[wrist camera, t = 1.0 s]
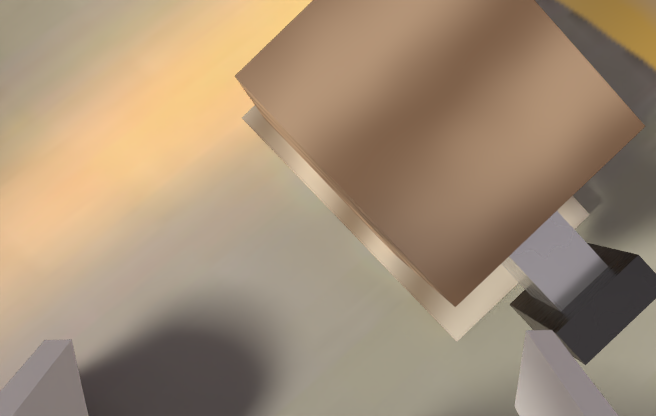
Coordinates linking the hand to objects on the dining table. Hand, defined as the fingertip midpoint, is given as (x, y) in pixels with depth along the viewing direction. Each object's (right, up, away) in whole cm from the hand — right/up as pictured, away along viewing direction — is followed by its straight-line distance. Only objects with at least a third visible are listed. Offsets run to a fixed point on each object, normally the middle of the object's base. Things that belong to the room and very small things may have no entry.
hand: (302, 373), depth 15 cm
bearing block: (+7, +8, +19) cm, 21 cm away
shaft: (+8, +6, +12) cm, 16 cm away
